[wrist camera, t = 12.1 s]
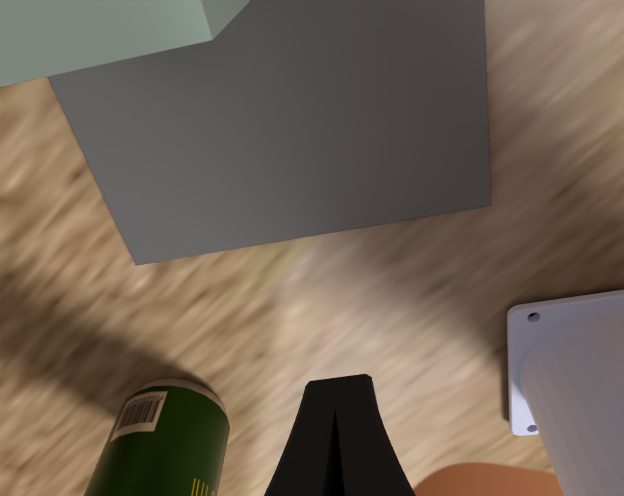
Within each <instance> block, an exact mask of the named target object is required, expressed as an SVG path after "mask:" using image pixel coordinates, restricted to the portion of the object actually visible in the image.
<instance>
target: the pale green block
mask: <svg viewBox="0 0 624 496" xmlns="http://www.w3.org/2000/svg"><path fill="white" fill-rule="evenodd" d="M248 3H249V0H0V87H2V86H7V85H11V84H16V83H20V82H25V81H29V80H34V79H38V78H43V77H47V76H52V75H56V74H61V73H65V72H70V71H74V70H79V69H84V68H88V67H93V66H97V65H102V64H106V63H111V62H115V61H120V60H124V59H129V58H133V57H138V56H142V55H147V54H151V53H156V52H161V51H165V50H170V49H174V48H179V47H183V46H188V45H192V44H197V43H201V42H206V41H210V40H213V39H214V38H215V37H216V36H217V35H218V34H219V33H220V32H221V31H222V30H223V29H224V28H225V26H226V25H227V24H228V23H229V22H230V21H231V20H232V19H233V18H234V17H235V16H236V15H237V14H238V13H239V12H240V11H241V10H242V9H243V8H244V7H245V6H246V5H247V4H248Z"/></svg>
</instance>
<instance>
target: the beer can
mask: <svg viewBox="0 0 624 496" xmlns="http://www.w3.org/2000/svg"><path fill="white" fill-rule="evenodd" d="M229 430H230V426H229V422H228V418H227V415H226V412H225V408H224V405H223V404H222V402H221V401H220V400H219V398H218V397H217V396H216V395H215V394H214V393H213V392H211V391H210V390H208V389H207V388H206V387H204V386H202V385H199V384H197V383H194V382H192V381H188V380H183V379H177V378H169V379H158V380H155V381H152V382H149V383H146V384H145V385H143V386H142V387H141V388H139V389H138V390H137V391H135V392H134V393H133V394H132V395H131V396H129V397H128V398H127V399H126V401H125V402H124V404H123V406H122V407H121V409H120V411H119V414H118V416H117V418H116V421H115V423H114V425H113V428H112V430H111V432H110V435H109V437H108V440H107V442H106V444H105V447H104V449H103V451H102V454H101V456H100V458H99V461H98V463H97V465H96V468H95V470H94V472H93V475H92V477H91V480H90V482H89V484H88V487H87V489H86V491H85V494H84V496H217V492H218V487H219V482H220V477H221V471H222V466H223V461H224V456H225V451H226V446H227V441H228V435H229Z"/></svg>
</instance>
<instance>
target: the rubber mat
mask: <svg viewBox="0 0 624 496" xmlns="http://www.w3.org/2000/svg"><path fill="white" fill-rule="evenodd" d="M48 78H49V80H50V82H51V84H52V87H53V89H54V91H55V93H56V95H57V97H58V99H59V102H60V104H61V106H62V108H63V110H64V112H65V114H66V117H67V119H68V121H69V123H70V125H71V127H72V130H73V132H74V134H75V136H76V138H77V140H78V142H79V145H80V147H81V149H82V151H83V153H84V155H85V157H86V160H87V162H88V164H89V166H90V168H91V170H92V172H93V175H94V177H95V179H96V181H97V183H98V185H99V188H100V190H101V192H102V194H103V196H104V198H105V200H106V203H107V205H108V207H109V209H110V211H111V213H112V215H113V218H114V220H115V222H116V224H117V226H118V228H119V230H120V233H121V235H122V237H123V239H124V241H125V243H126V246H127V248H128V250H129V252H130V254H131V256H132V258H133V261H134V263H135V265H136V266H137V265H143V264H149V263H154V262H160V261H166V260H172V259H178V258H184V257H190V256H196V255H202V254H208V253H214V252H220V251H226V250H231V249H237V248H243V247H249V246H255V245H261V244H267V243H273V242H279V241H285V240H291V239H297V238H303V237H308V236H314V235H320V234H326V233H332V232H338V231H344V230H350V229H356V228H362V227H368V226H374V225H380V224H385V223H391V222H397V221H403V220H409V219H415V218H421V217H427V216H433V215H439V214H445V213H451V212H456V211H462V210H468V209H474V208H480V207H486V206H491V182H490V155H489V128H488V101H487V75H486V48H485V21H484V0H249V3H248V4H247V5H246V6H245V7H244V8H243V9H242V10H241V11H240V12H239V13H238V14H237V15H236V16H235V17H234V18H233V19H232V20H231V21H230V22H229V23H228V24H227V25H226V26H225V28H224V29H223V30H222V31H221V32H220V33H219V34H218V35H217V36H216V37H215V38H214V39H213V40H210V41H206V42H201V43H197V44H192V45H188V46H183V47H179V48H174V49H170V50H165V51H161V52H156V53H151V54H147V55H142V56H138V57H133V58H129V59H124V60H120V61H115V62H111V63H106V64H102V65H97V66H93V67H88V68H84V69H79V70H74V71H70V72H65V73H61V74H56V75H52V76H48Z"/></svg>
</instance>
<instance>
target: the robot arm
mask: <svg viewBox="0 0 624 496" xmlns="http://www.w3.org/2000/svg"><path fill="white" fill-rule="evenodd" d="M531 313H536V314H535V315H533V316H529V315H530V314H531ZM507 347H508V391H509V426H510V429H511V431H512V433H513V434H515V435H518V436H524V435H533V434H539V435H540V437H541V439H542V442H543V444H544V447H545V449H546V452H547V454H548V457H549V459H550V461H551V464H552V466H553V469H554V471H555V474H556V476H557V478H558V481H559V483H560V486H561V488H562V491H563V493H564V495H565V496H624V290H618V291H611V292H604V293H597V294H590V295H583V296H576V297H569V298H562V299H555V300H548V301H541V302H534V303H527V304H521V305H516V306H514V307H512V308H511V309H510V310H509V311H508V313H507ZM264 496H415V494H414V492H413V490H412V488H411V486H410V484H409V482H408V480H407V478H406V476H405V474H404V472H403V469H402V467H401V465H400V463H399V461H398V459H397V456H396V454H395V452H394V449H393V447H392V445H391V443H390V440H389V438H388V435H387V433H386V430H385V428H384V425H383V422H382V419H381V416H380V414H379V410H378V405H377V401H376V396H375V391H374V386H373V382H372V377H370V376H369V375H367V374H360V375H353V376H345V377H338V378H330V379H323V380H315V381H309V383H308V384H307V385H306V387H305V390H304V394H303V398H302V401H301V404H300V407H299V411H298V414H297V417H296V419H295V422H294V425H293V428H292V431H291V433H290V436H289V439H288V441H287V444H286V446H285V449H284V451H283V454H282V456H281V458H280V461H279V463H278V466H277V468H276V471H275V473H274V475H273V478H272V480H271V482H270V484H269V486H268V488H267V490H266V492H265V495H264Z"/></svg>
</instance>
